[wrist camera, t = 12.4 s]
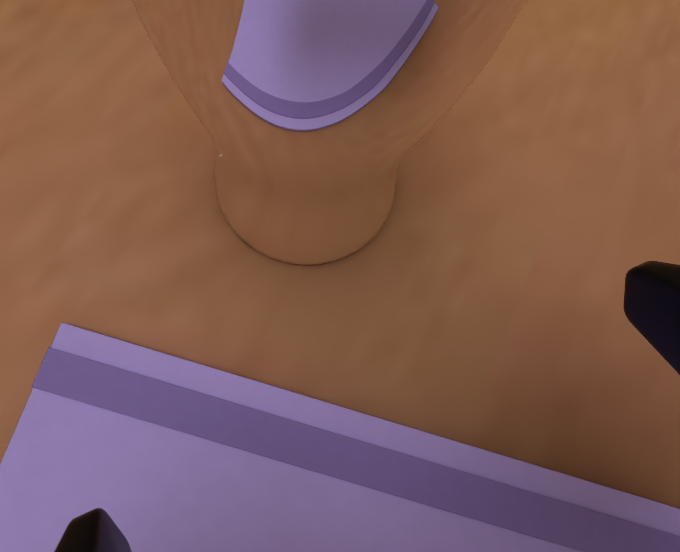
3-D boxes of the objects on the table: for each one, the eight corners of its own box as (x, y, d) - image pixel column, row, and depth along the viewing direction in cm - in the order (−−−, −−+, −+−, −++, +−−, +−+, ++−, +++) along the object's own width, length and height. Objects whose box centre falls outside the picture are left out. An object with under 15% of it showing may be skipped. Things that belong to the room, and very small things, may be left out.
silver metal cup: (333, 57, 21) (447, -799, 6) (446, 210, 20) (906, -395, 5) (162, 149, 19) (-215, -702, 5) (274, 319, 18) (235, -97, 4)
